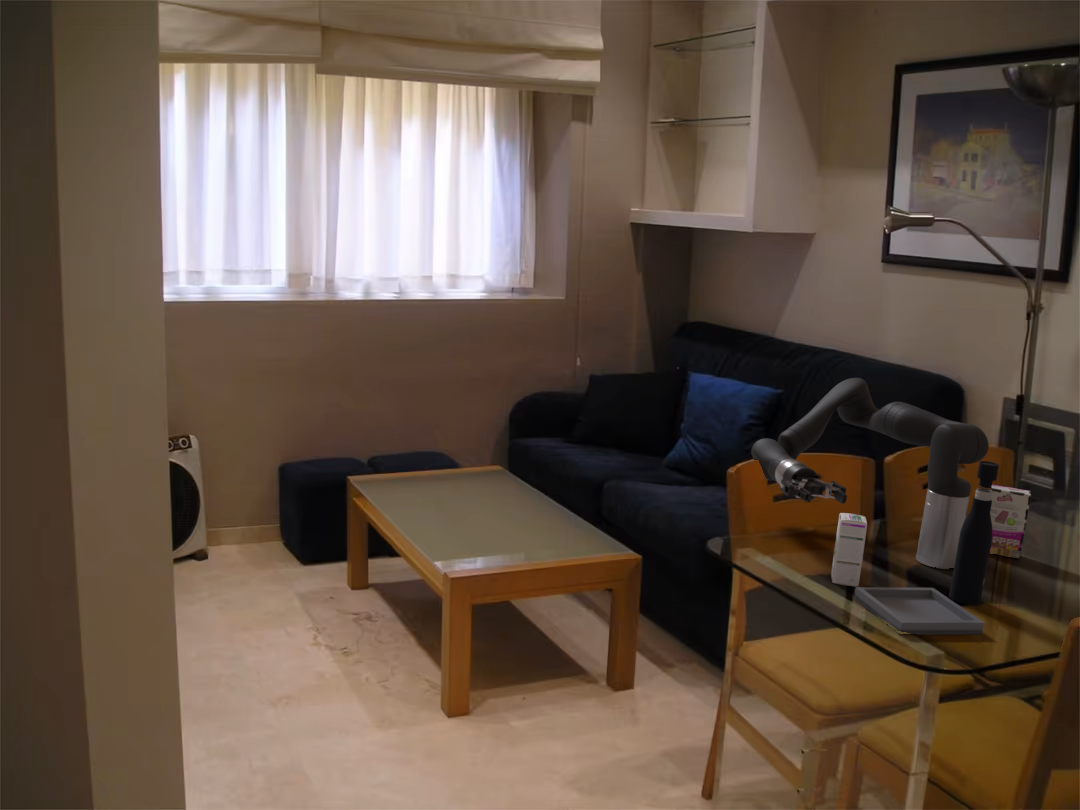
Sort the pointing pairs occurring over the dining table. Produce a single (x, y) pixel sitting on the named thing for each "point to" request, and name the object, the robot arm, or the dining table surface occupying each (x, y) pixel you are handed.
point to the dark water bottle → (975, 541)
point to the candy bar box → (1009, 517)
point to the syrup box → (849, 549)
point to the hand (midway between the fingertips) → (827, 498)
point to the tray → (919, 611)
